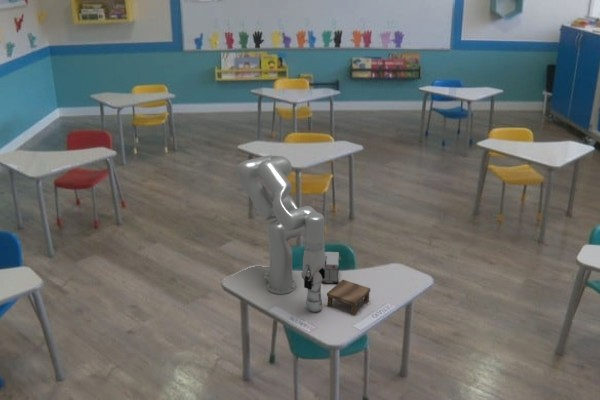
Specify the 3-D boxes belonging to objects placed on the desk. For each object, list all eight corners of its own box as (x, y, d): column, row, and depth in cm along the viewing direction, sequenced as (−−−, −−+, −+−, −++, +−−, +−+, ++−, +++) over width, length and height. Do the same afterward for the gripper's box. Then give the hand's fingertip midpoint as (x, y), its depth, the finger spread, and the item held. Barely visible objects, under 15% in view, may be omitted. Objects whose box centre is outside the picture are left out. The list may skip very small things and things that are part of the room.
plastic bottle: (312, 315, 226) (313, 271, 219) (302, 308, 231) (302, 264, 224) (325, 310, 230) (326, 266, 222) (315, 303, 235) (315, 260, 227)
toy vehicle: (340, 265, 264) (341, 246, 260) (340, 285, 248) (340, 265, 244) (319, 265, 265) (320, 245, 261) (318, 284, 249) (318, 264, 245)
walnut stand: (326, 305, 233) (326, 293, 231) (342, 291, 243) (342, 279, 241) (354, 315, 226) (355, 302, 224) (369, 300, 236) (370, 288, 234)
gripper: (318, 233, 228) (318, 271, 234) (294, 250, 215) (294, 290, 221) (334, 238, 224) (333, 276, 230) (310, 255, 211) (310, 295, 217)
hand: (314, 283), depth 226 cm, fingers open, 9 cm apart
